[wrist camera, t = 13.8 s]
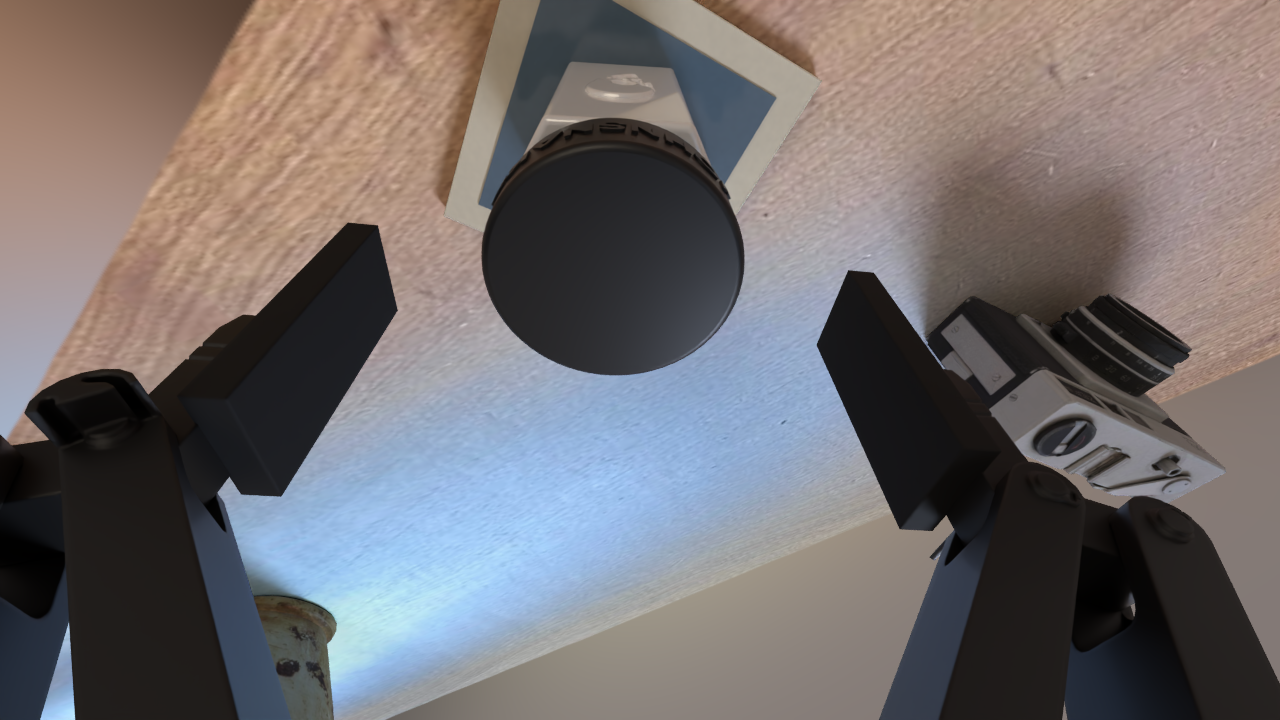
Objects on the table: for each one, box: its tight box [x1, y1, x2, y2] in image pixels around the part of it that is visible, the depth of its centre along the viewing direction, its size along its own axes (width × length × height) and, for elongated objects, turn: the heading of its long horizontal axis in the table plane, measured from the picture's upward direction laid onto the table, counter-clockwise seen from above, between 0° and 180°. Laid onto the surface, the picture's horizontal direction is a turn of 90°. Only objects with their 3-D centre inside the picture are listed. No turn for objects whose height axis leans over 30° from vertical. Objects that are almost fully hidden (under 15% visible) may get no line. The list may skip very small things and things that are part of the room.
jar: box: [482, 62, 744, 375], centre depth 20 cm, size 9×8×12 cm
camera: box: [926, 294, 1226, 503], centre depth 30 cm, size 14×9×10 cm, turn 57°
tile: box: [444, 0, 822, 233], centre depth 25 cm, size 14×14×1 cm
